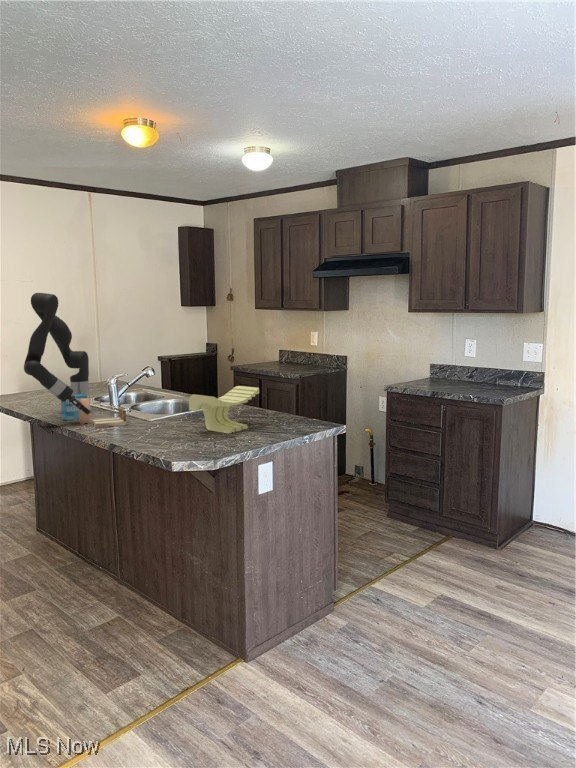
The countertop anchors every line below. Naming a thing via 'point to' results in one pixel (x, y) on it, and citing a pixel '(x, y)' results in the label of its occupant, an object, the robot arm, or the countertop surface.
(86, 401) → the peach dome-topped cylinder
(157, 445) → the countertop surface
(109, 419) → the wooden l-shaped stand
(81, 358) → the robot arm
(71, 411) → the data package
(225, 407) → the slatted curved stool
